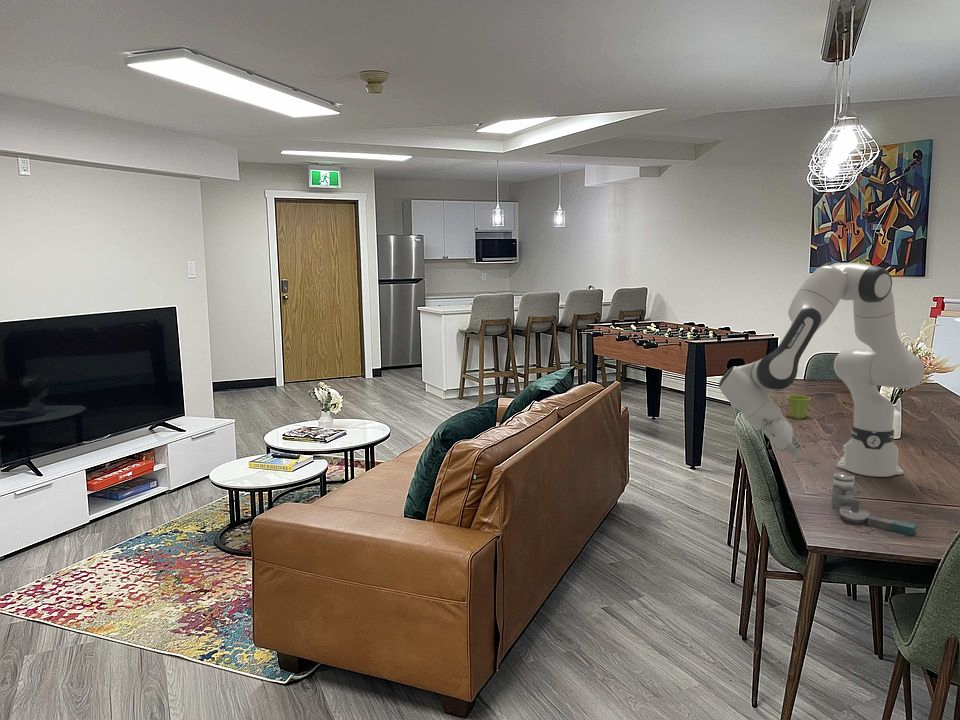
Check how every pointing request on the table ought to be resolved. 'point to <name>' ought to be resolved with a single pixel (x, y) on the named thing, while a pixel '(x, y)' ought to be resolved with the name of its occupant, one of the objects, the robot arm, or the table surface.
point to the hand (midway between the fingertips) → (800, 452)
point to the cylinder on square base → (842, 489)
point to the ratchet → (873, 519)
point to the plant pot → (798, 406)
